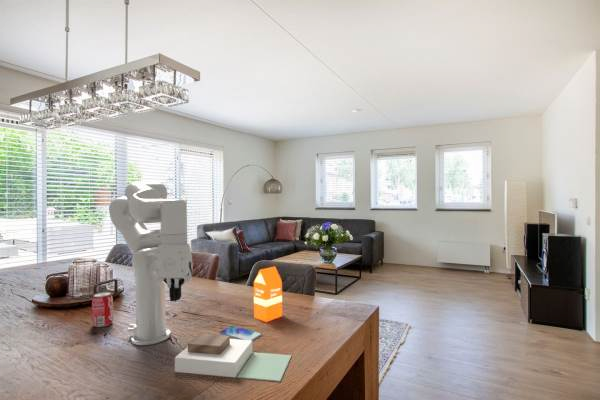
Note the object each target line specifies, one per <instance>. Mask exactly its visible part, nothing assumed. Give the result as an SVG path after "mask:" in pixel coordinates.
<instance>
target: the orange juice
mask: <svg viewBox="0 0 600 400" xmlns="http://www.w3.org/2000/svg"><path fill="white" fill-rule="evenodd" d="M253 315H254V316H253V317H254V318H255V319H257V320H259V321H262V322H265V323H268V322H270V321H273V320H275V319H279V318H280V317H282V316H283V281H282V278H281V276H280V274H279V271H278V270H277V268H276V266H271V267H267V268H262V269H259V270H258V273H257V275H256V277H255V279H254V280H253Z"/></svg>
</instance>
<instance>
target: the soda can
mask: <svg viewBox="0 0 600 400" xmlns="http://www.w3.org/2000/svg"><path fill="white" fill-rule="evenodd" d="M111 294H112V292H110V291H104V292H103V291H102V292H98V293H95V294H94V295H93V298H92V300H91V323H92V326H94V327H96V328H103V327H107V326H109V325H111V323H113V320H114V299H113V298H114V297H113V295H111Z"/></svg>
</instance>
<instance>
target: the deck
mask: <svg viewBox="0 0 600 400" xmlns="http://www.w3.org/2000/svg"><path fill="white" fill-rule="evenodd" d="M253 353H254V351H253V341H252V340H240V339H235V338H230V344H229V345H228V347H227V348H226V349H225V350H224V351H223V352H222V353H221V354H220V355H215V354H203V353H191V352H188V346H187V347H185V348H184V349H183V350H182V351H181V352H180V353H179V354H177V355H176V356H175V357H174V372H175V373H184V374H194V375H195V374H196V375H204V376H205V375H207V376H214V377H215V376H216V377H225V378H226V377H227V378H237V376H238V375H239V373H240V372H241V370H242V369H243V367H244V366H245V364H246V363H247V362H248V360H249V359H250V357H251V356H252V354H253Z"/></svg>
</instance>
